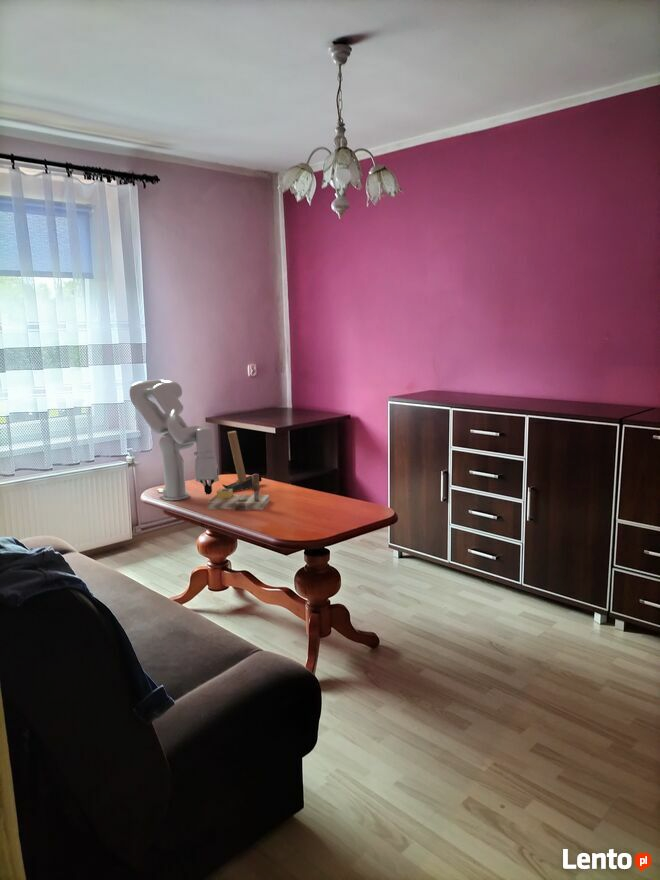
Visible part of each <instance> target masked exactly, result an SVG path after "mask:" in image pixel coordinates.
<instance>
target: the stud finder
mask: <svg viewBox="0 0 660 880" xmlns="http://www.w3.org/2000/svg"><path fill="white" fill-rule="evenodd" d="M216 495H217V498H230V497H231V496H232V495H234V491H233V489H225V488H219V489H218V490H216Z"/></svg>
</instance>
